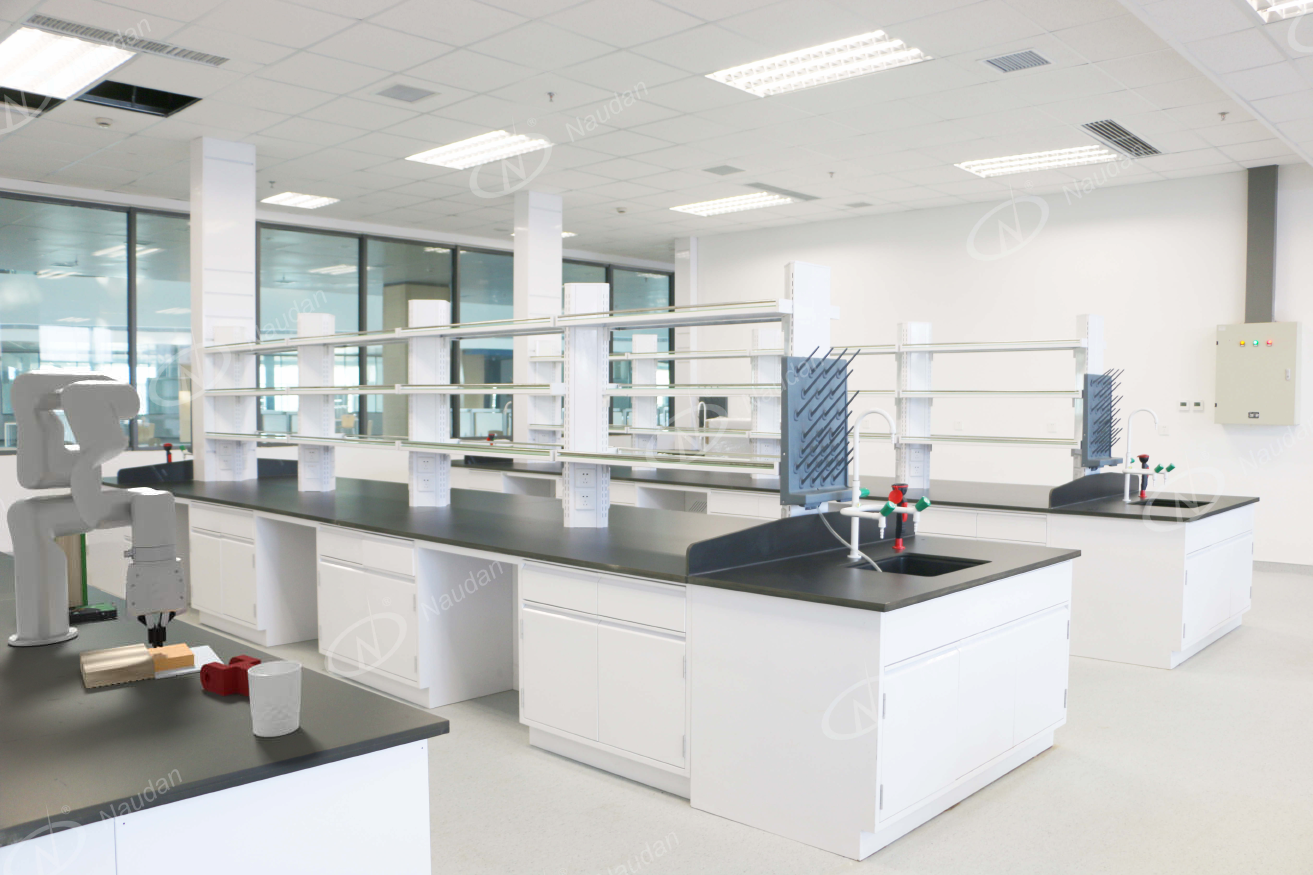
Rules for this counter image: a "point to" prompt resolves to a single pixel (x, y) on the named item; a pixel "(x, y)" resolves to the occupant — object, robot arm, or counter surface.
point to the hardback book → (75, 568)
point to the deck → (116, 665)
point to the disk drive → (92, 612)
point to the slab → (172, 657)
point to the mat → (200, 658)
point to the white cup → (275, 697)
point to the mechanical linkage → (228, 676)
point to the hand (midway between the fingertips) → (157, 645)
